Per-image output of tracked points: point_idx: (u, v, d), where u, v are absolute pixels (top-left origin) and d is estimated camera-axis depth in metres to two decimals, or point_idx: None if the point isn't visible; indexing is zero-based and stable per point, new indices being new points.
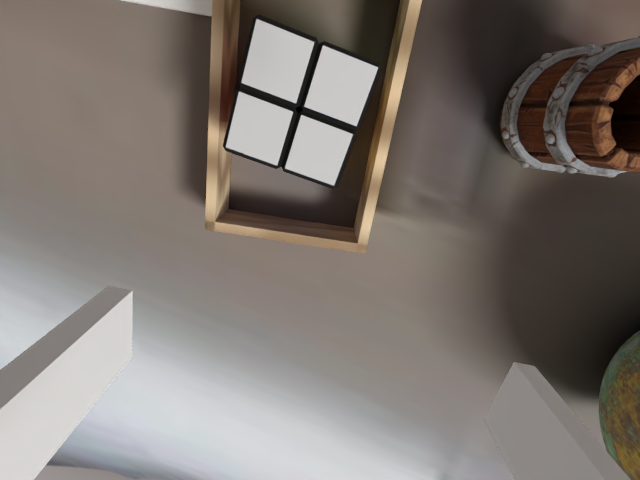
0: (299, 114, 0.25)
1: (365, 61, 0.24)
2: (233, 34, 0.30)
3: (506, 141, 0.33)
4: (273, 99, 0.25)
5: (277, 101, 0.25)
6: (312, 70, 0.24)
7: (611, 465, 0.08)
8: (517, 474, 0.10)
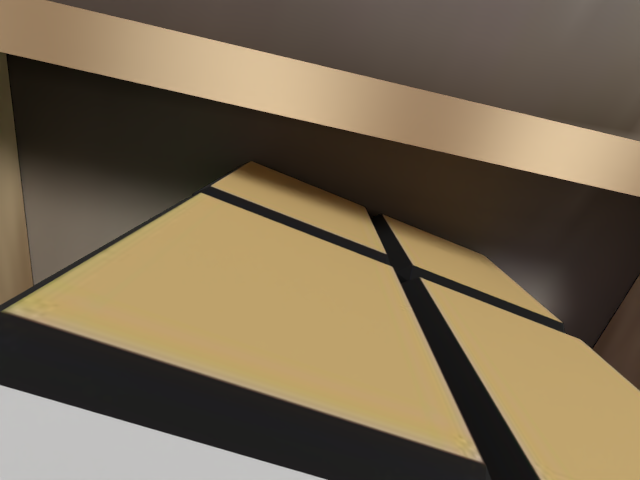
0: None
1: None
2: None
3: None
4: None
5: None
6: None
7: None
8: None
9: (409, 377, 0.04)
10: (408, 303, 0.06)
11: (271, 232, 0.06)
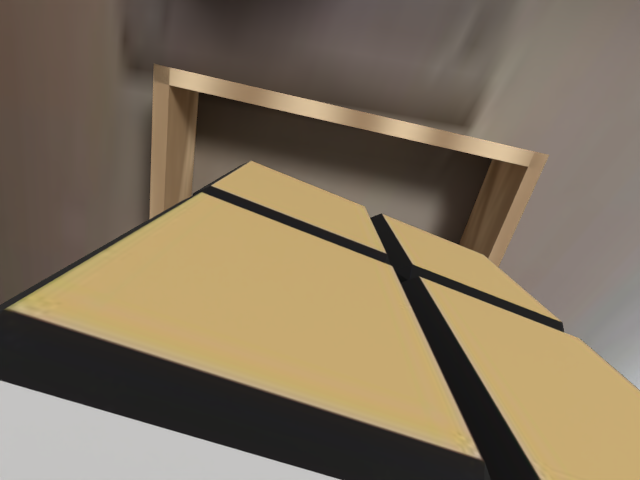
0: None
1: None
2: None
3: None
4: None
5: None
6: None
7: None
8: None
9: (408, 375, 0.04)
10: (408, 302, 0.06)
11: (271, 231, 0.06)
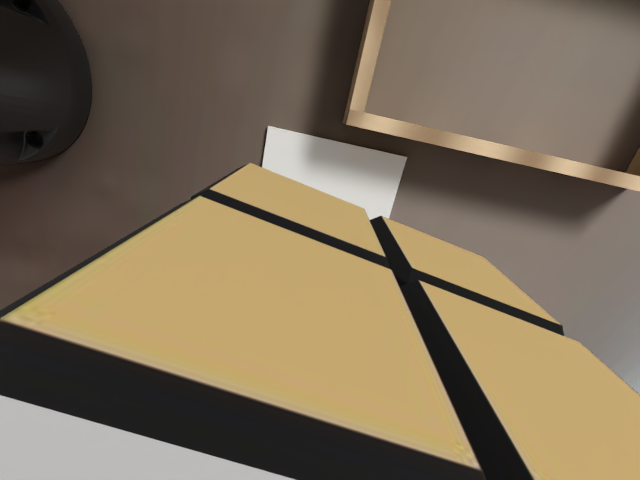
0: None
1: None
2: None
3: None
4: None
5: None
6: None
7: None
8: None
9: (407, 383, 0.04)
10: (407, 307, 0.06)
11: (270, 235, 0.06)
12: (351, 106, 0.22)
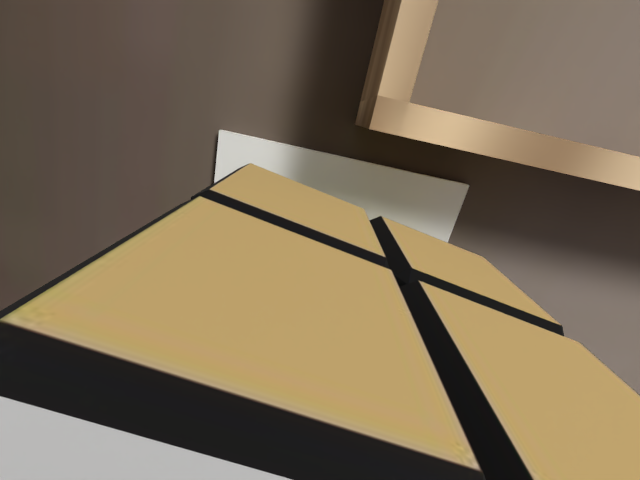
0: None
1: None
2: None
3: None
4: None
5: None
6: None
7: None
8: None
9: (407, 383, 0.04)
10: (406, 307, 0.06)
11: (270, 236, 0.06)
12: (381, 89, 0.10)
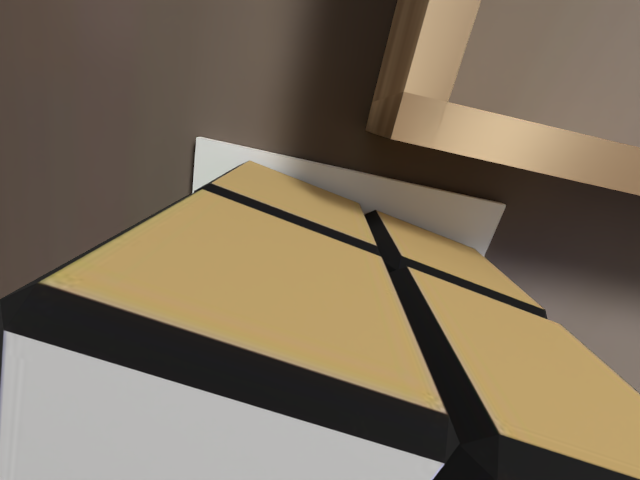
0: None
1: None
2: None
3: None
4: None
5: None
6: None
7: None
8: None
9: (387, 347, 0.04)
10: (393, 288, 0.06)
11: (267, 224, 0.07)
12: (410, 82, 0.07)
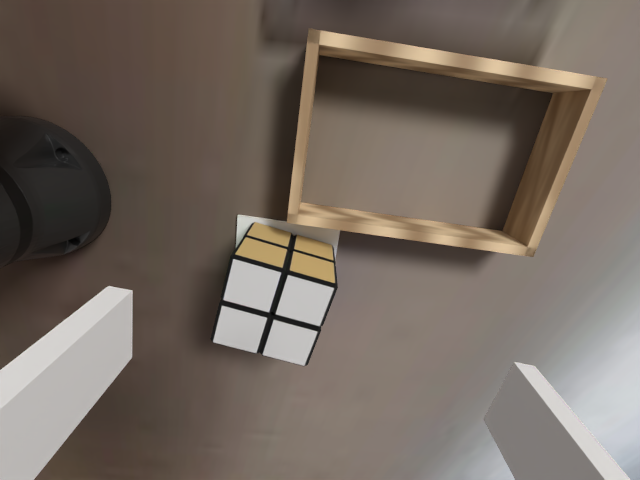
0: (275, 314, 0.30)
1: (230, 268, 0.29)
2: (357, 214, 0.36)
3: None
4: (266, 331, 0.31)
5: (267, 329, 0.31)
6: (242, 306, 0.30)
7: (610, 465, 0.08)
8: (517, 474, 0.10)
9: (277, 262, 0.30)
10: (285, 255, 0.32)
11: (260, 244, 0.32)
12: (288, 211, 0.32)
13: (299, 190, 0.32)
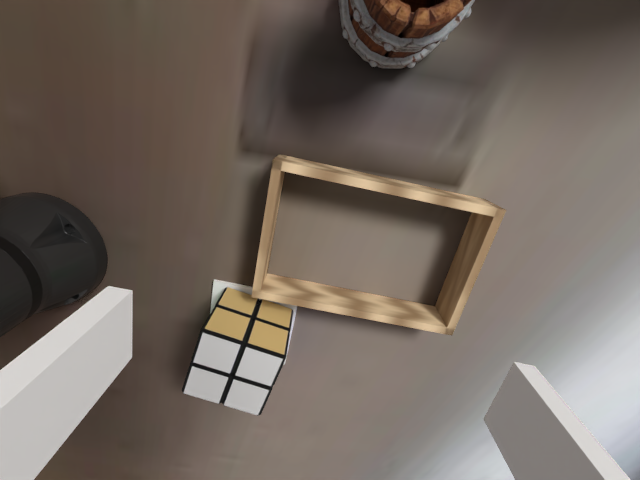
0: (235, 375, 0.38)
1: (200, 339, 0.36)
2: (312, 288, 0.43)
3: (417, 61, 0.33)
4: (227, 387, 0.38)
5: (228, 385, 0.38)
6: (208, 367, 0.37)
7: (611, 465, 0.08)
8: (517, 474, 0.10)
9: (239, 334, 0.37)
10: (247, 325, 0.39)
11: (227, 314, 0.39)
12: (253, 288, 0.39)
13: (262, 273, 0.39)
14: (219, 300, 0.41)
